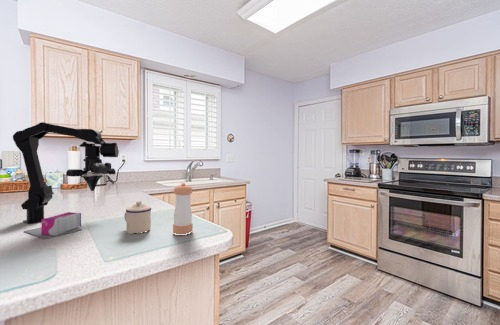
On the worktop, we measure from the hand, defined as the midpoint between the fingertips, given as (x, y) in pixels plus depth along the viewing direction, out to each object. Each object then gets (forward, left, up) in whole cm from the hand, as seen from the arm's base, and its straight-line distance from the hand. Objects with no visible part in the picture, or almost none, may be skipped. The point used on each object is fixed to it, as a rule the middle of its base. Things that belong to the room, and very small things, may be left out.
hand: (92, 190), depth 109 cm
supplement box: (+7, -11, -10) cm, 16 cm away
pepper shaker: (+50, +6, -13) cm, 52 cm away
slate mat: (+6, -17, -13) cm, 23 cm away
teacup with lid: (+32, -1, -13) cm, 35 cm away
